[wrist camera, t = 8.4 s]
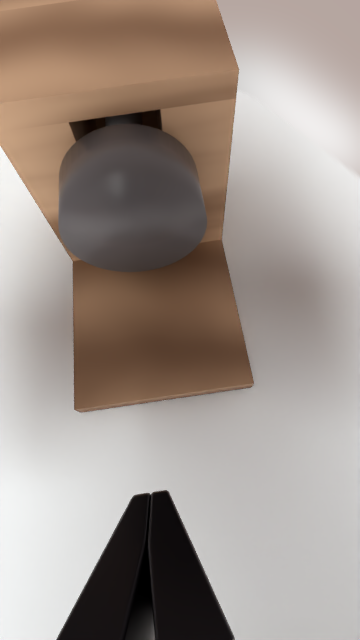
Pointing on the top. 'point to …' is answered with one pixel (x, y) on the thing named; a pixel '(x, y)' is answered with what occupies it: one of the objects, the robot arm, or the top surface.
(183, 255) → the knob
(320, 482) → the top surface
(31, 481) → the top surface
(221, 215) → the mount
